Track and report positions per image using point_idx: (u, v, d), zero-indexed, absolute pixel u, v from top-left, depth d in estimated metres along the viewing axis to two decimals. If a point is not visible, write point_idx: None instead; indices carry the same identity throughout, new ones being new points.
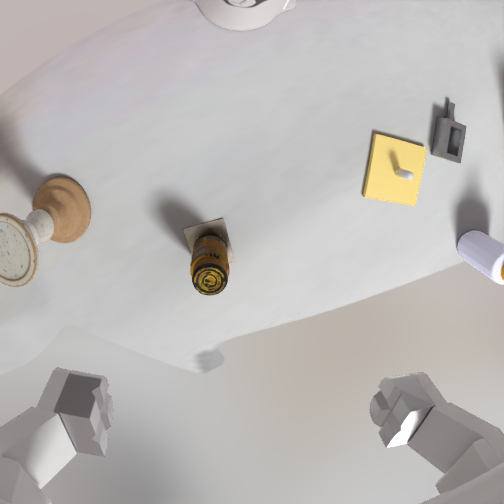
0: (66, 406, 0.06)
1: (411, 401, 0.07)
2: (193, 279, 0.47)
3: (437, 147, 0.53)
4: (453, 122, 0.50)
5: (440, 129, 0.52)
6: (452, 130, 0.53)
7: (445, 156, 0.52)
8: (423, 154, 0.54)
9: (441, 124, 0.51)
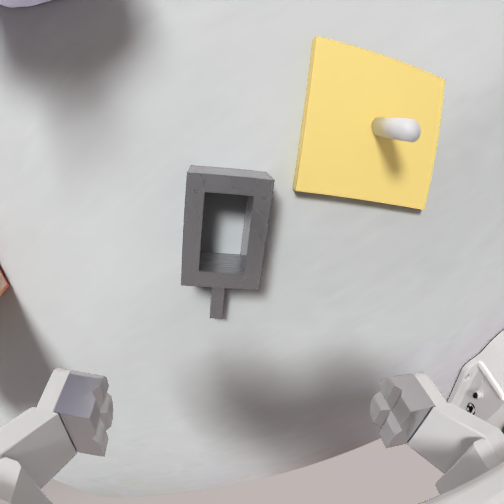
0: (66, 406, 0.06)
1: (411, 401, 0.07)
2: None
3: None
4: (234, 284, 0.23)
5: None
6: (200, 250, 0.25)
7: (257, 184, 0.21)
8: (306, 172, 0.23)
9: None
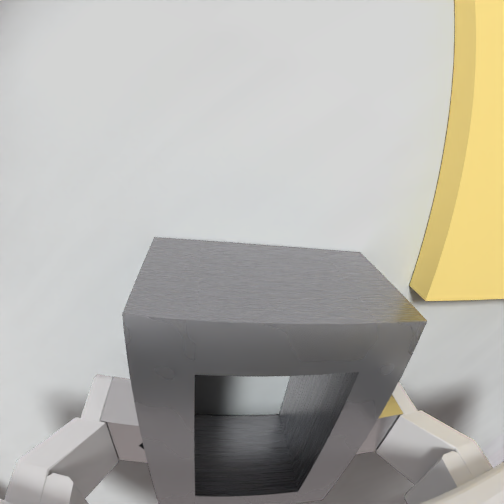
0: (113, 414, 0.06)
1: None
2: None
3: None
4: (275, 502, 0.08)
5: None
6: None
7: (379, 339, 0.06)
8: (453, 257, 0.08)
9: None
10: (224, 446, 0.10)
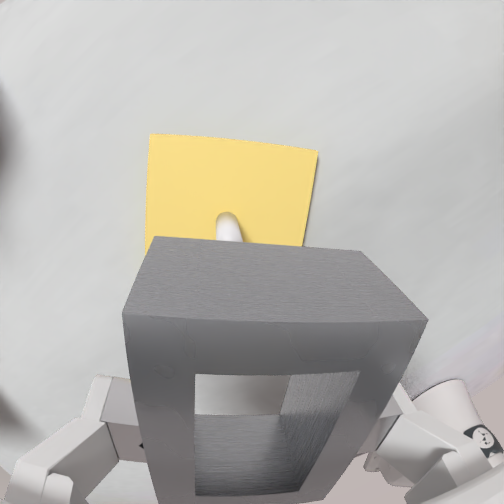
0: (113, 414, 0.06)
1: None
2: None
3: None
4: (275, 502, 0.08)
5: None
6: None
7: (380, 338, 0.06)
8: None
9: None
10: (224, 446, 0.09)
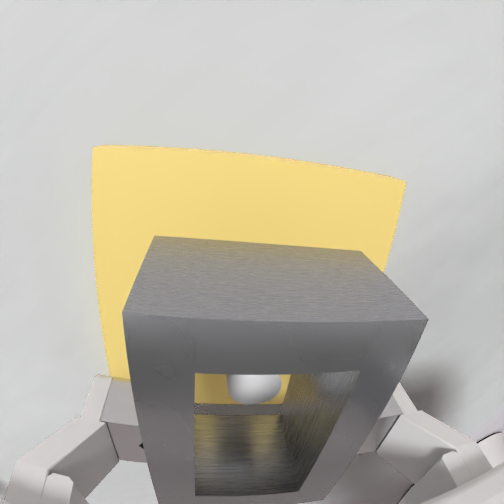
0: (113, 414, 0.06)
1: None
2: None
3: None
4: (275, 502, 0.08)
5: None
6: None
7: (380, 338, 0.06)
8: (121, 377, 0.14)
9: None
10: (224, 446, 0.10)
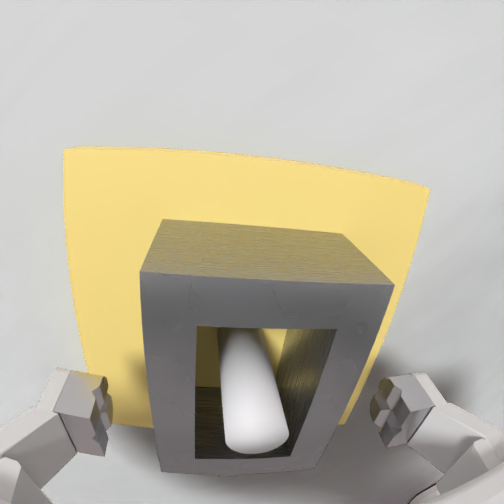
0: (66, 406, 0.06)
1: (411, 401, 0.07)
2: None
3: None
4: (269, 468, 0.10)
5: None
6: None
7: (352, 299, 0.07)
8: None
9: None
10: (222, 414, 0.11)
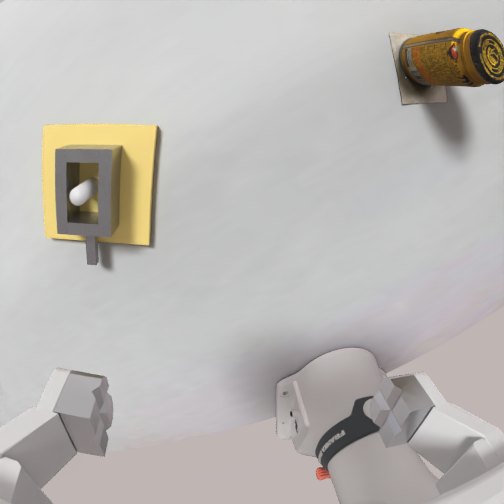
0: (66, 406, 0.06)
1: (411, 401, 0.07)
2: None
3: (116, 166, 0.27)
4: (92, 232, 0.27)
5: (115, 205, 0.28)
6: (77, 209, 0.29)
7: (100, 153, 0.24)
8: (49, 225, 0.29)
9: (114, 216, 0.28)
10: (84, 216, 0.28)
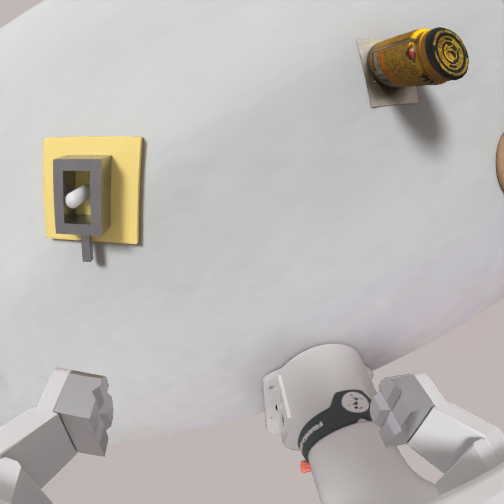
0: (66, 406, 0.06)
1: (411, 401, 0.07)
2: (468, 62, 0.21)
3: (106, 173, 0.30)
4: (86, 232, 0.31)
5: (106, 208, 0.32)
6: (74, 212, 0.32)
7: (91, 162, 0.28)
8: (49, 226, 0.33)
9: (106, 218, 0.32)
10: (79, 218, 0.32)
